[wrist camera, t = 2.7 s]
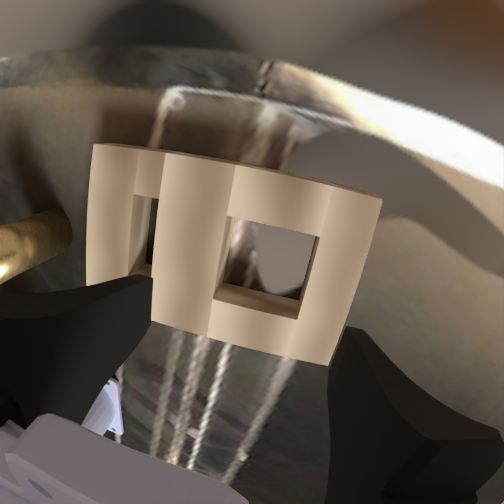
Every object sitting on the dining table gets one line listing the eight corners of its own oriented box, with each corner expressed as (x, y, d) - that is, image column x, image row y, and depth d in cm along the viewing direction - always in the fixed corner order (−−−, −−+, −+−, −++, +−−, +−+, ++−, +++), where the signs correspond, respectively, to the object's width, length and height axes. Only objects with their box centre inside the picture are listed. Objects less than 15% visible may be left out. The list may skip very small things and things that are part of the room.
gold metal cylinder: (42, 246, 22) (-31, 281, 15) (42, 205, 21) (-37, 231, 13) (72, 256, 22) (-3, 298, 14) (72, 212, 21) (-10, 243, 13)
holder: (106, 283, 22) (87, 297, 20) (115, 143, 19) (93, 143, 16) (326, 343, 20) (327, 365, 18) (372, 193, 17) (382, 199, 15)
